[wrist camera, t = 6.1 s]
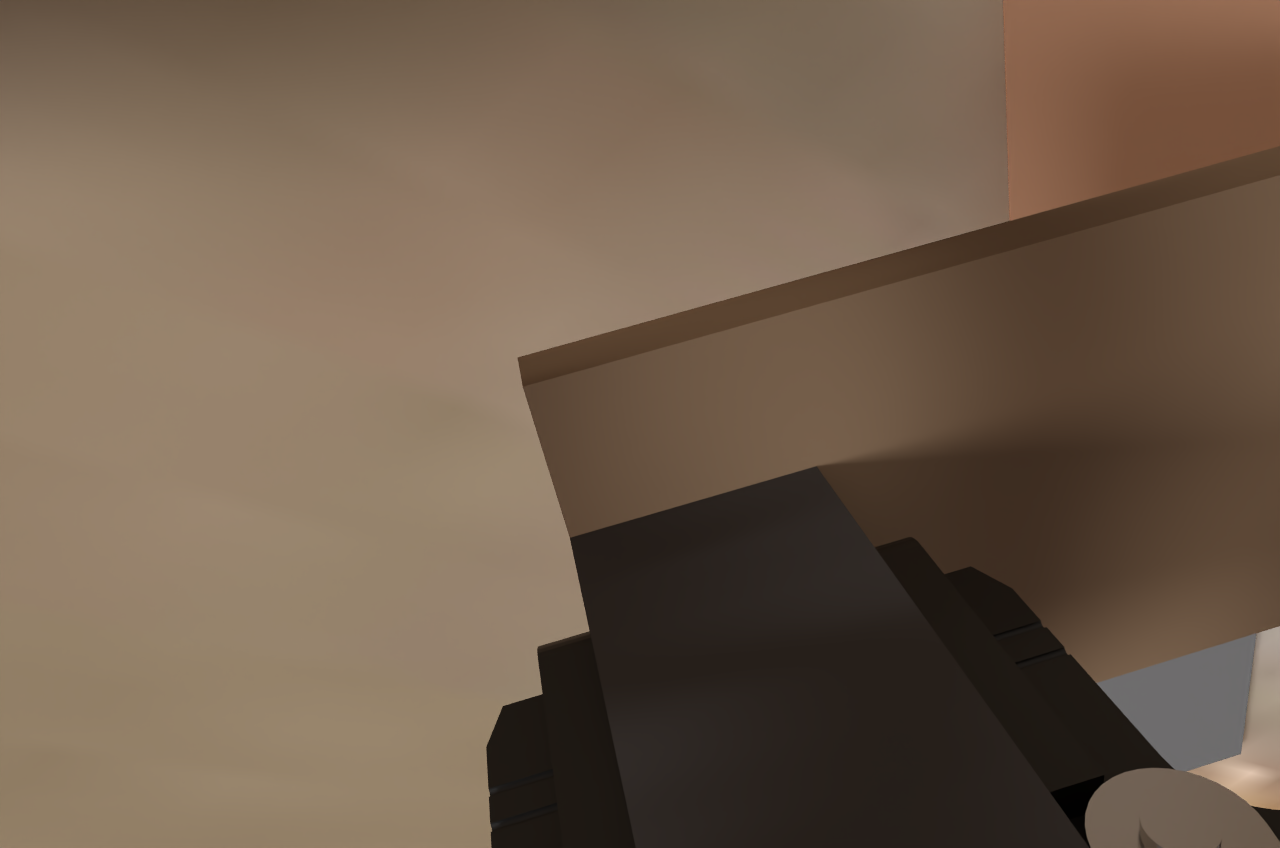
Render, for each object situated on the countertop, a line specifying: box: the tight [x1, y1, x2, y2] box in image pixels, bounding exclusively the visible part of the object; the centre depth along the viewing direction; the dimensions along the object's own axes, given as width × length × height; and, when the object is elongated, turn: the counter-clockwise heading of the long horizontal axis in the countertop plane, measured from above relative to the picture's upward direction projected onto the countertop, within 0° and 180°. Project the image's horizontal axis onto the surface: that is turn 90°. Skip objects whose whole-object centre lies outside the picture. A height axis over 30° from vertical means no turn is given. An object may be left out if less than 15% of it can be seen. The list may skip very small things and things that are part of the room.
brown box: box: [518, 146, 1280, 848], centre depth 10 cm, size 10×7×7 cm
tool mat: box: [1097, 633, 1256, 772], centre depth 37 cm, size 22×11×1 cm, turn 103°
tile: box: [1003, 0, 1280, 221], centre depth 22 cm, size 2×8×10 cm, turn 13°
